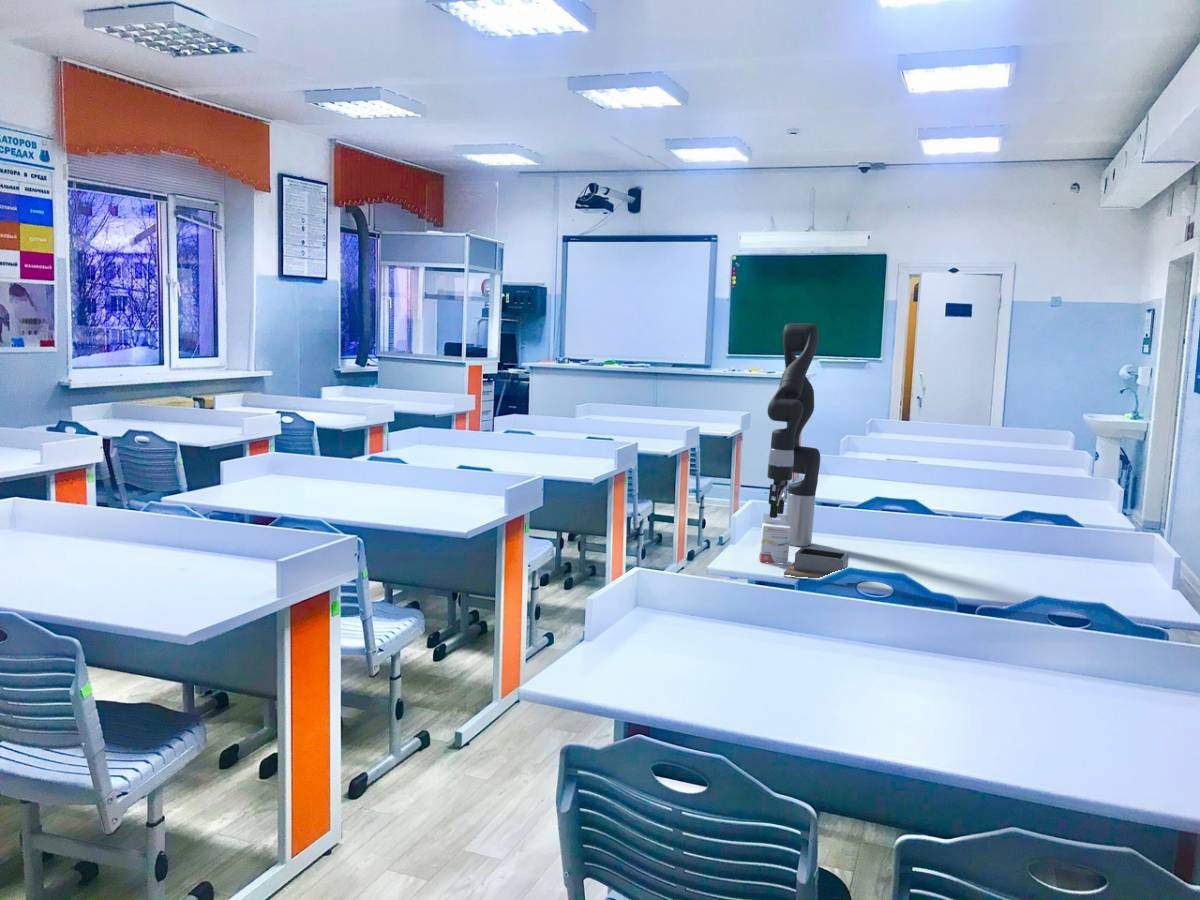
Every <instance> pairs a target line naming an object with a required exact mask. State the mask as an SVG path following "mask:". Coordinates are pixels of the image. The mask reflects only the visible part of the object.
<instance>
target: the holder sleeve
mask: <svg viewBox="0 0 1200 900" xmlns="http://www.w3.org/2000/svg"><path fill="white" fill-rule="evenodd" d="M849 556H850V553H847V552H840V551H835V550H834V551H833V550H827V549H826V550H825V549H819V548H811V547H806V546H801V548H800V549H798V550H797V551H796V552H795V554H794V562H795V563H794V562H793V563H794V570H798V571H805V572H812V573H819V574H825V575H828V574H830V573H832V572H835V571H838V570H842V569H845V568H847V567H849Z"/></svg>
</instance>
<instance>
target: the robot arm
mask: <svg viewBox="0 0 1200 900" xmlns="http://www.w3.org/2000/svg"><path fill="white" fill-rule="evenodd" d="M819 340H820V332H819V327H818V326H817V324H814V323H811V322H809V323H801V322H798V323H793V322H791V323H787V324H785V325H784V327H783V331H782V344H783V345H782V346H783V353H784V355H783V356H784V357H783V358H784V367H785V368H784V371H783V373H782V375H781V378H780V382H779V387H778V389H777V390H776V392H775V394H774V395H773V396H772V398H771V400H770V402H769V403H768V405H767V416H768V418H769V419H770V420H772V421H775V422H781V423H783V422H784V423H786V427H785V428H779V429H778V428H777V429H774V430H773V431H772V433H771V439H770V451H769V456H768V465H767V466H768V467H767V478H768V479H769V480H773V482H772V484H770V485H769V493H768V494H769V496H768V504H769V505H770V508H769V514H770V517H771V518H772V519H778V517H777V514H778V515H784V507H785V502H786V509H785V510H786V511H785V515H789V516H790V518H789V525H790V528H791V530H790V542H789V546H793V547H794V546H795V547H809V546H808V545H810V546H812V541H813V540H812V539H813V528H814V517H815V505H816V504H815V502H816V492H817V486H818V481H819V471H820V466H821V465H820V464H821V453H820V450H819V449H818V448H816V447H811V446H810V447H809V446H800V437H801V433H802V431H803V429H804V427H805V426H806V424H807V423H808V421H809V420H810V419H811V418H812V415H813V413H814V410H815V390H814V388H813V385H812V383H811V382H810V380H809V379H808V377H807V376H806V375H807V373H808V370H809V368H810V366H811V363H812V361H813V359H814V357H815V354H816V351H817V350H818V346H819V342H820V341H819ZM797 353H800V354H799V356H797V355H796V354H797ZM793 474H801V475H803V476H804V477H803V479H802V480H801V481H798V482H793V483H790V484H788V483H789V481H792V479H793ZM786 500H787V501H786Z"/></svg>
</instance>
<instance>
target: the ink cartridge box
mask: <svg viewBox="0 0 1200 900" xmlns="http://www.w3.org/2000/svg"><path fill="white" fill-rule="evenodd" d="M789 518H790V516H789V515H786V514H777V519H773V518H771V517H770V513H764V514H763V520H762V525H761V532H760V544H759V555H758V556H759V557H758V559H759V562H760V563H764V562H768V563H767V564H775V563H783V564H782V565H786V564H787V565H788V563H789V562H788V560H789V552H790V545H789V542H790V530H791V528H790V525H789Z"/></svg>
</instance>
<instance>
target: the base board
mask: <svg viewBox="0 0 1200 900" xmlns="http://www.w3.org/2000/svg"><path fill="white" fill-rule="evenodd" d="M794 563H795V561H793V563H792V564H791V565H790V566H789V567H788V568H786V569H785V571H784V572H783V576H784V575H791V576H795V577H808V578H820V577H823V576H825V574H819V573H812V572H805V571H798V570H794Z"/></svg>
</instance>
